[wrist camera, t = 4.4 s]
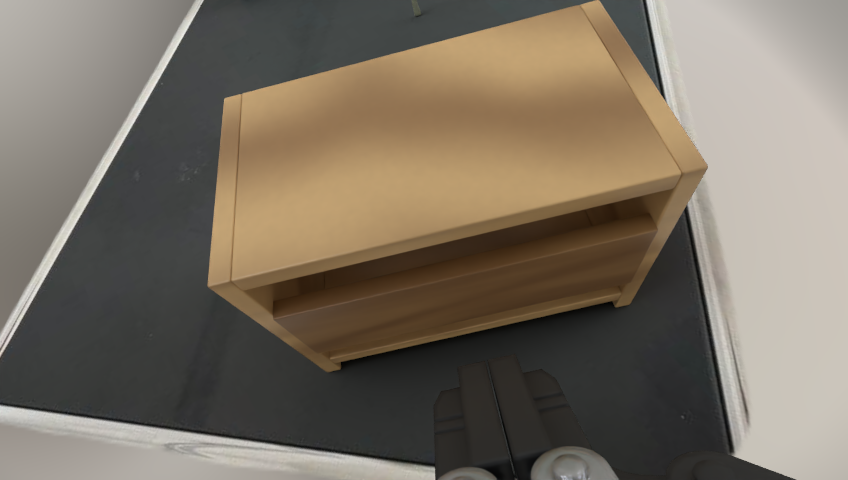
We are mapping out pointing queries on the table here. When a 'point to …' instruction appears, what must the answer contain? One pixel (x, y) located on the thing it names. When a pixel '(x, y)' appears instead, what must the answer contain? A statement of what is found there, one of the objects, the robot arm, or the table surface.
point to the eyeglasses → (416, 8)
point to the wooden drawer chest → (448, 188)
